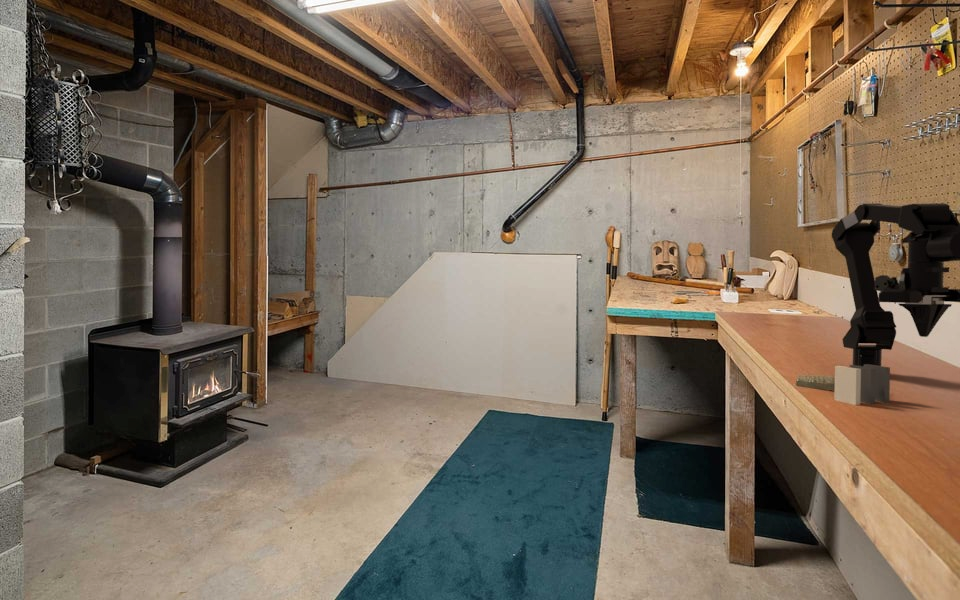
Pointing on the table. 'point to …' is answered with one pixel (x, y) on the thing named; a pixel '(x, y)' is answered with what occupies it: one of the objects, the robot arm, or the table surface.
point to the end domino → (847, 385)
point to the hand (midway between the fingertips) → (923, 336)
